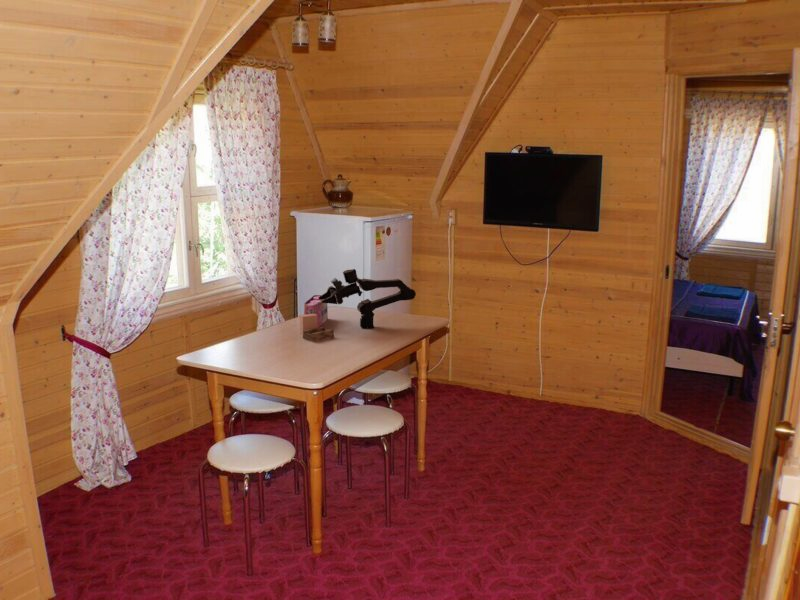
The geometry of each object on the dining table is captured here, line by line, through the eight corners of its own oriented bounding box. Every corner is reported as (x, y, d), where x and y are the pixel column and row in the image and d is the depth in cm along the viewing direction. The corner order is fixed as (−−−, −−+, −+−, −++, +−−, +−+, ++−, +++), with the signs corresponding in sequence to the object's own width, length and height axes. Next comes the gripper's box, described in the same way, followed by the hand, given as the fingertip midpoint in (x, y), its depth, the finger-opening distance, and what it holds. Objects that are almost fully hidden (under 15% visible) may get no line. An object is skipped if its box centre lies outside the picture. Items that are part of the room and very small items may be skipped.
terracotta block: (314, 332, 386) (314, 313, 384) (317, 334, 382) (317, 315, 380) (300, 333, 383) (299, 315, 381) (303, 335, 379) (302, 316, 377)
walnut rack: (323, 333, 382) (323, 326, 382) (334, 337, 376) (333, 329, 375) (302, 338, 374) (302, 330, 373) (313, 341, 367) (313, 334, 366)
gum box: (317, 329, 392) (317, 304, 389) (303, 328, 393) (302, 303, 390) (328, 318, 415) (327, 295, 413) (314, 318, 416) (313, 294, 414)
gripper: (340, 273, 396) (312, 282, 393) (348, 279, 379) (319, 289, 375) (345, 292, 399) (318, 301, 396) (354, 299, 382) (325, 309, 378)
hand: (320, 300), depth 386 cm, fingers open, 9 cm apart
